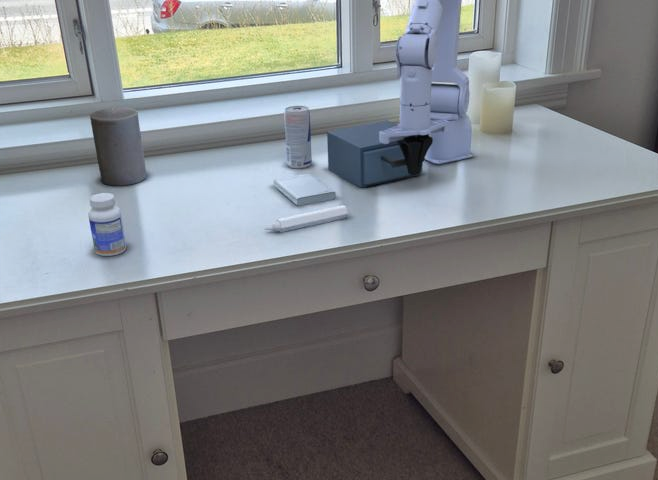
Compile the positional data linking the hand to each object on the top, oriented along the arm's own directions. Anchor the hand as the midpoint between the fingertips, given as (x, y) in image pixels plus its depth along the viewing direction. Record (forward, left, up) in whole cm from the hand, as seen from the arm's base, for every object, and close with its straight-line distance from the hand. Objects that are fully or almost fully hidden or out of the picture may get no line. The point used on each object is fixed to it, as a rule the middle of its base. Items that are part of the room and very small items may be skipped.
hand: (413, 174), depth 160 cm
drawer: (0, -10, -3) cm, 11 cm away
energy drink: (+11, -28, -4) cm, 30 cm away
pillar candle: (+46, -41, -4) cm, 62 cm away
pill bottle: (+59, -5, -4) cm, 59 cm away
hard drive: (+18, -12, -4) cm, 22 cm away
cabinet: (0, -15, -4) cm, 15 cm away
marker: (+26, +4, -4) cm, 26 cm away
